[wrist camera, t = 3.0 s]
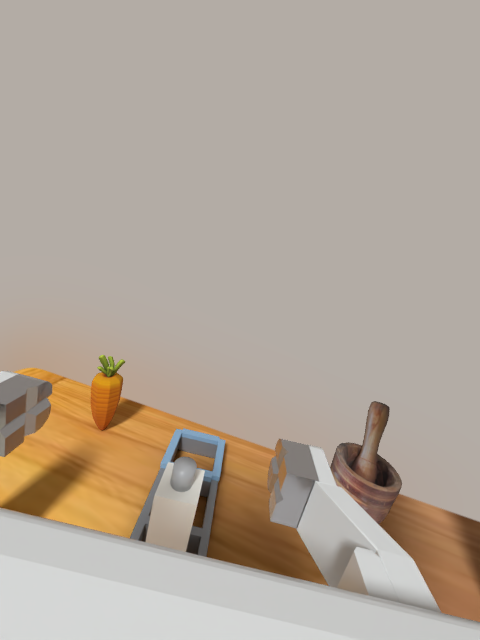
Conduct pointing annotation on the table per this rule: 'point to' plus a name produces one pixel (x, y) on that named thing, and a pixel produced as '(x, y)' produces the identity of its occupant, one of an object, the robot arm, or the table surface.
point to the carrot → (106, 392)
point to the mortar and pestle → (368, 468)
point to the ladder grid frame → (208, 448)
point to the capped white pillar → (175, 504)
